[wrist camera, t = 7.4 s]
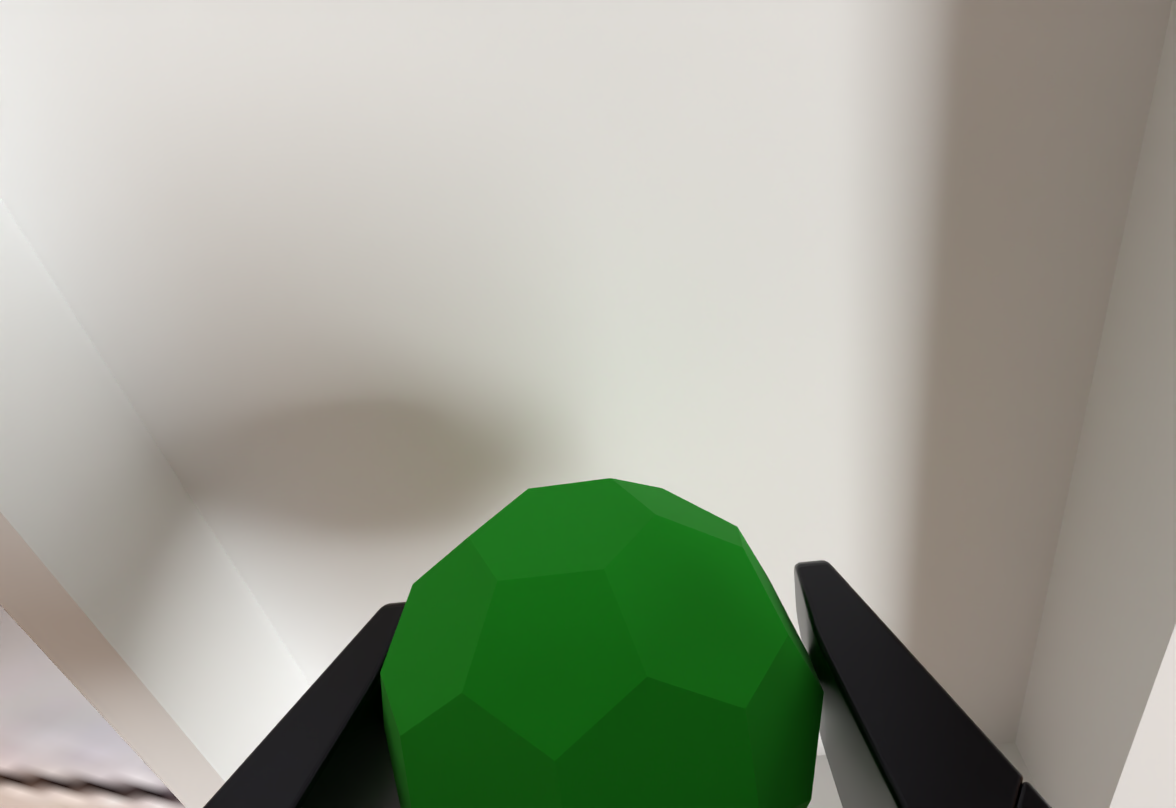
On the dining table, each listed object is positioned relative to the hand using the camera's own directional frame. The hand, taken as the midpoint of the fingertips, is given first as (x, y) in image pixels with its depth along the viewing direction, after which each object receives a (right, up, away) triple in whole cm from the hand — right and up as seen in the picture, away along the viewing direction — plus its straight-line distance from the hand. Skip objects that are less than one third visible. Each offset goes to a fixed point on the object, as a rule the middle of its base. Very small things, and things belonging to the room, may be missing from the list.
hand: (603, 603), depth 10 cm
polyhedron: (0, +1, +1) cm, 1 cm away
